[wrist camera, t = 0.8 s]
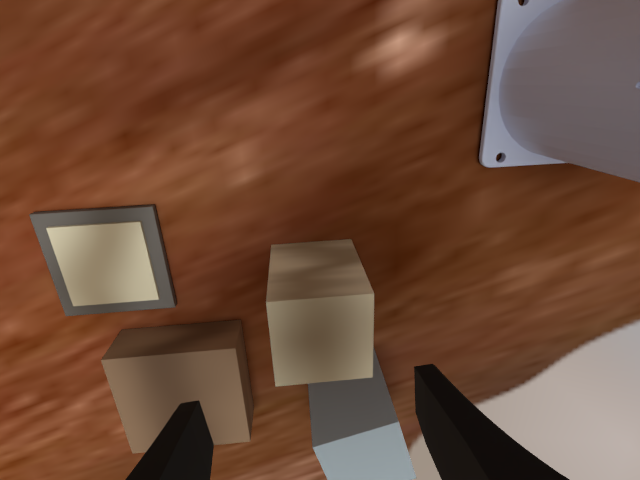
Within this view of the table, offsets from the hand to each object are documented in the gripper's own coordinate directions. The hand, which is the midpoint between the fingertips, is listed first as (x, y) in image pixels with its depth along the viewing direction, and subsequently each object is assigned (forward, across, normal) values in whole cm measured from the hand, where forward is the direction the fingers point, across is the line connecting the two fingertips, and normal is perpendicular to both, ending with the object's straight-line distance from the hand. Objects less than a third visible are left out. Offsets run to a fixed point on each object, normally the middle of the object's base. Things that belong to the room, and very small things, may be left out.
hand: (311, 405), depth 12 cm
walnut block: (+10, +8, +6) cm, 14 cm away
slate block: (+10, -2, +9) cm, 13 cm away
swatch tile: (+10, +10, -2) cm, 14 cm away
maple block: (+10, -1, +1) cm, 10 cm away
